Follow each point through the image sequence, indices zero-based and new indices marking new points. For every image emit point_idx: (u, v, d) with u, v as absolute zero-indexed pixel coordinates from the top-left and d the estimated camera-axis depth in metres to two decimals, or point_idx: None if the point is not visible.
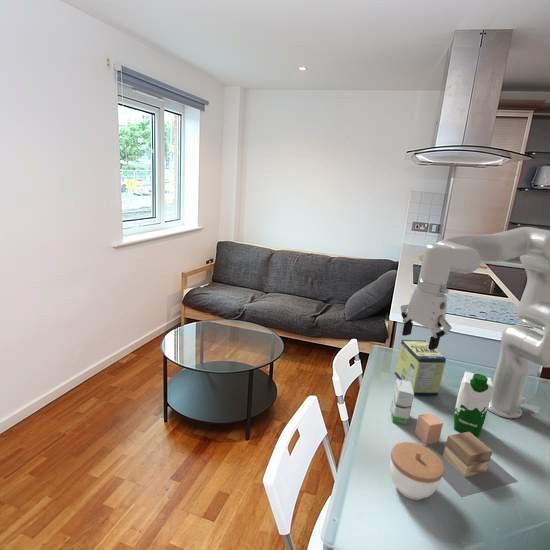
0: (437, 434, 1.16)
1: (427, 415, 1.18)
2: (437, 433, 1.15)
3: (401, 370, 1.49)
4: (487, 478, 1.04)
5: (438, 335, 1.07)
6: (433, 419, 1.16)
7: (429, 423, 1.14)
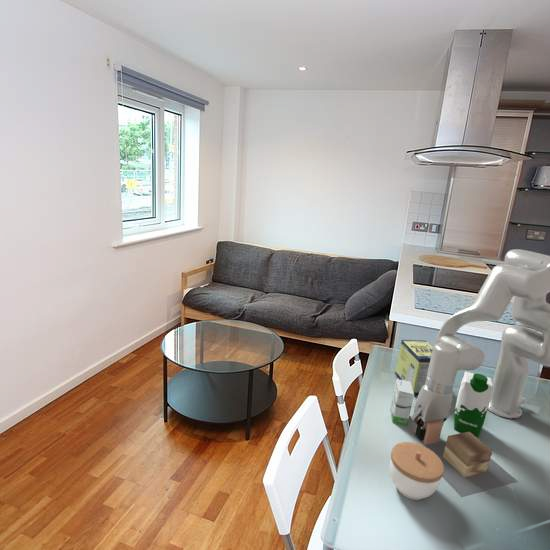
0: (437, 434, 1.16)
1: None
2: (437, 433, 1.15)
3: (401, 370, 1.49)
4: (487, 478, 1.04)
5: None
6: None
7: (429, 423, 1.14)
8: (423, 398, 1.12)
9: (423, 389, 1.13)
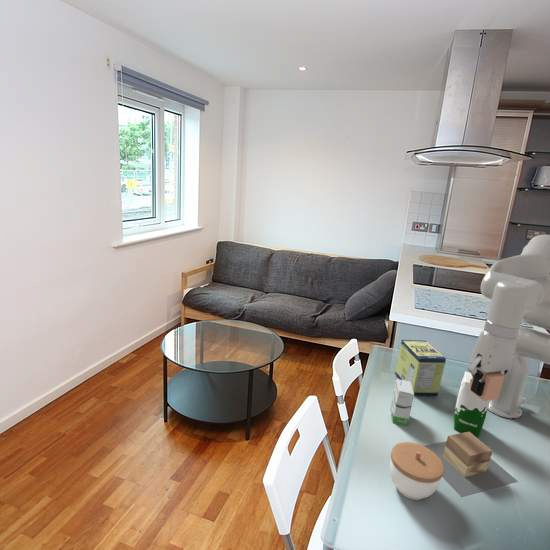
0: (498, 388, 1.00)
1: None
2: (498, 387, 0.99)
3: (401, 370, 1.49)
4: (487, 478, 1.04)
5: None
6: None
7: (489, 375, 0.98)
8: (483, 345, 0.96)
9: (483, 335, 0.97)
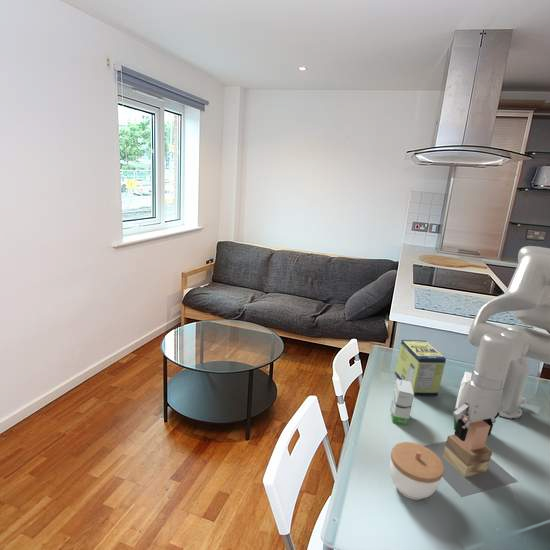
0: (483, 438, 1.04)
1: None
2: (483, 437, 1.04)
3: (401, 371, 1.49)
4: (487, 478, 1.04)
5: None
6: (478, 422, 1.05)
7: (475, 426, 1.02)
8: (470, 395, 1.00)
9: (470, 385, 1.01)
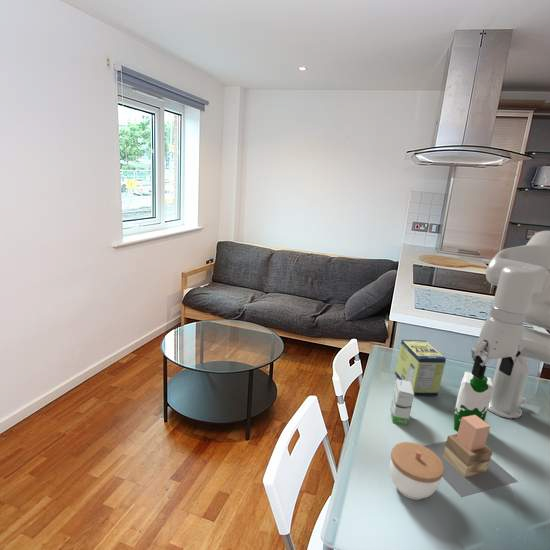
0: (483, 438, 1.04)
1: (471, 417, 1.06)
2: (483, 437, 1.04)
3: (401, 371, 1.49)
4: (487, 478, 1.04)
5: (515, 357, 1.01)
6: (478, 422, 1.05)
7: (475, 426, 1.02)
8: (489, 331, 0.96)
9: (489, 321, 0.96)
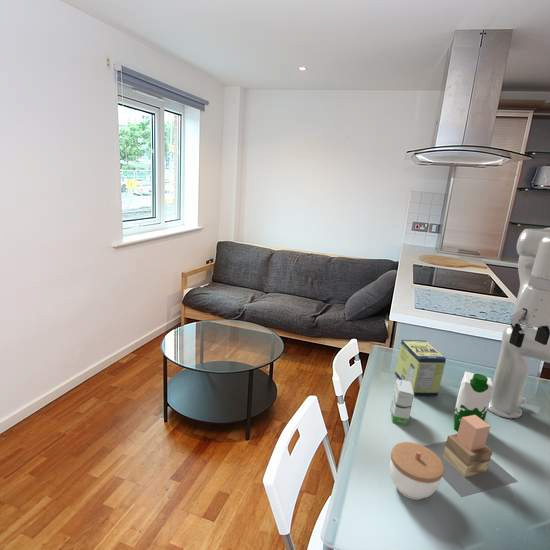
0: (483, 438, 1.04)
1: (471, 417, 1.06)
2: (483, 437, 1.04)
3: (401, 371, 1.49)
4: (487, 478, 1.04)
5: None
6: (478, 422, 1.05)
7: (475, 426, 1.02)
8: (528, 299, 0.99)
9: (528, 289, 0.99)
